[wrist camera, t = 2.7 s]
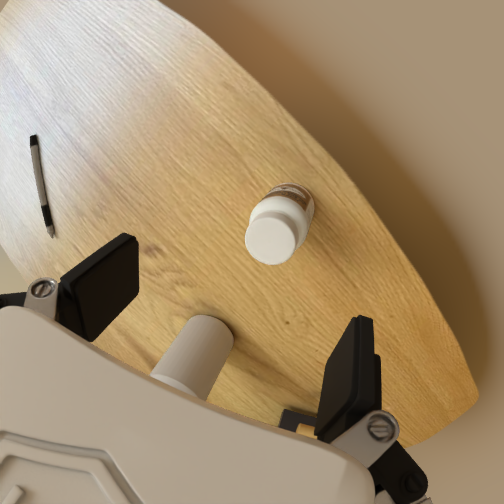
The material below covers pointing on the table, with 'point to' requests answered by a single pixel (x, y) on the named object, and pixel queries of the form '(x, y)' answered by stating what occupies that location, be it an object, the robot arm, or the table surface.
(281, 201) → the pill bottle
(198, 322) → the beverage can
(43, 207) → the pen
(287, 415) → the drawer
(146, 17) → the table surface
